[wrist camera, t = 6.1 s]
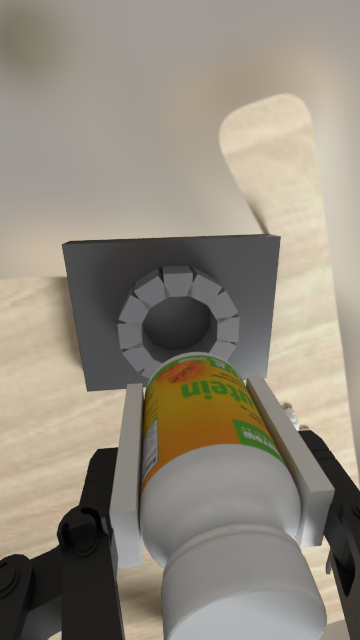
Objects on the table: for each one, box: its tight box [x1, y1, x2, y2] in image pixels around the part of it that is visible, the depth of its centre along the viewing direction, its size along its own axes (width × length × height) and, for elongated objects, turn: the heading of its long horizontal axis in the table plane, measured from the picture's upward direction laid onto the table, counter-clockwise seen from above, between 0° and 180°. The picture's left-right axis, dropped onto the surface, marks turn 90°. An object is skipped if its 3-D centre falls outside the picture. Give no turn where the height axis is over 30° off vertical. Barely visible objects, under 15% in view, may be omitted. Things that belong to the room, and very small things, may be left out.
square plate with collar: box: [62, 234, 281, 392], centre depth 26 cm, size 18×14×6 cm
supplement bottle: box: [139, 352, 327, 640], centre depth 11 cm, size 5×5×10 cm
